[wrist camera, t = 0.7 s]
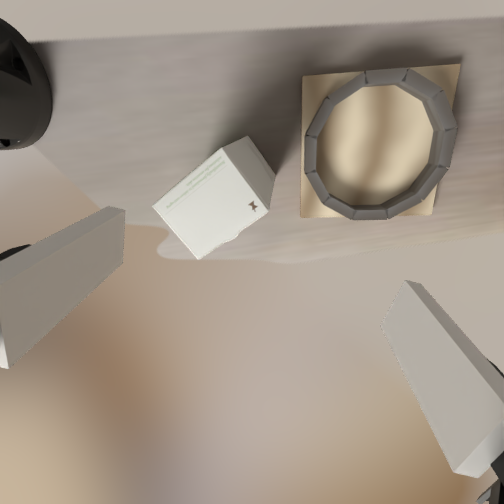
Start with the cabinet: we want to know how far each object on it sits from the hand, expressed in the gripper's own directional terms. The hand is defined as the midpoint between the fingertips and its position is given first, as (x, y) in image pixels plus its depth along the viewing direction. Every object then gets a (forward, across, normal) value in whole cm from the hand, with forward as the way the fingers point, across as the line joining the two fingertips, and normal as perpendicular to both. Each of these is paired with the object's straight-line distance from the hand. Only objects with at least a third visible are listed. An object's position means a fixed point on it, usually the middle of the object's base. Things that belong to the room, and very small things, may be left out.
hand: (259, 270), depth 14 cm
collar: (+26, +11, +6) cm, 29 cm away
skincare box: (+26, -4, -1) cm, 27 cm away
